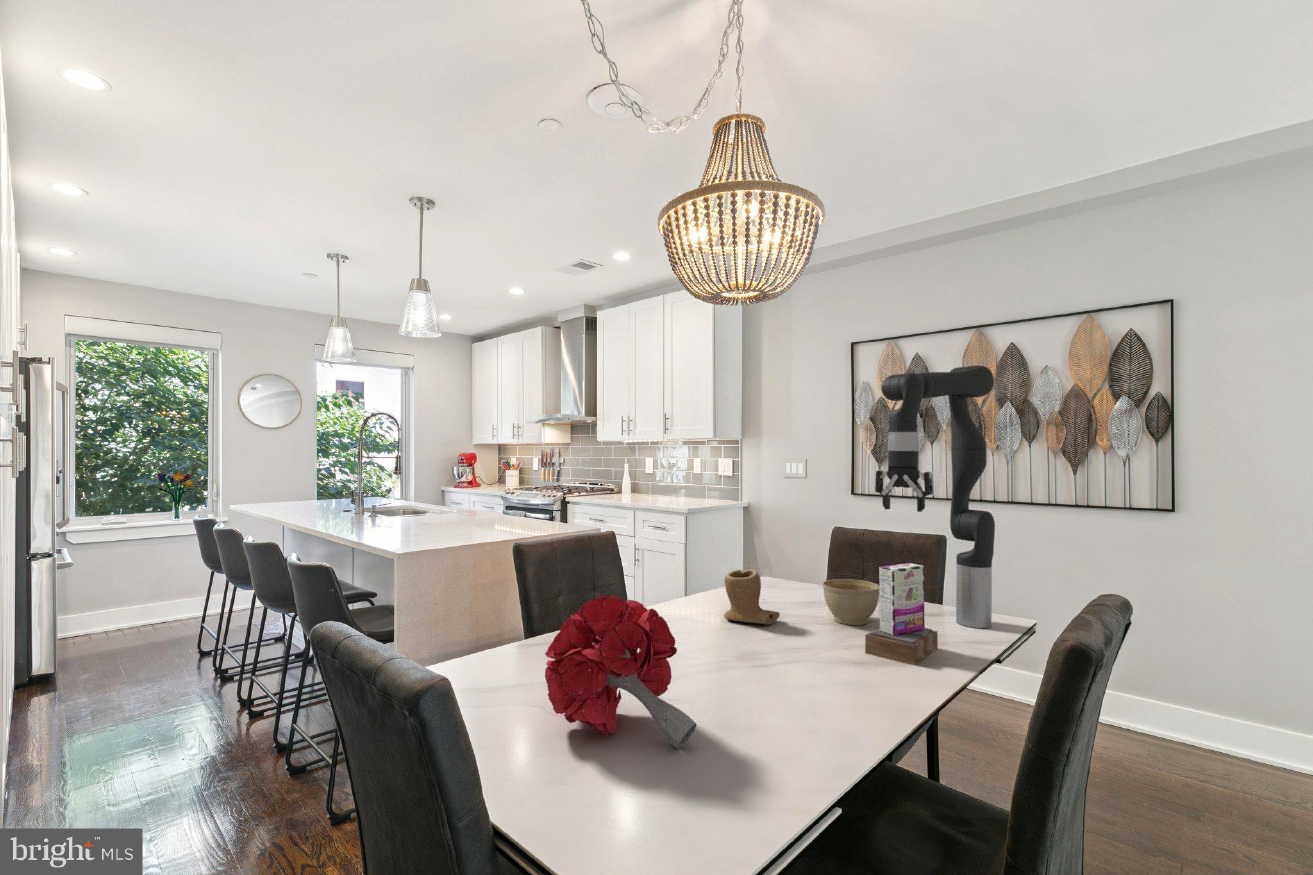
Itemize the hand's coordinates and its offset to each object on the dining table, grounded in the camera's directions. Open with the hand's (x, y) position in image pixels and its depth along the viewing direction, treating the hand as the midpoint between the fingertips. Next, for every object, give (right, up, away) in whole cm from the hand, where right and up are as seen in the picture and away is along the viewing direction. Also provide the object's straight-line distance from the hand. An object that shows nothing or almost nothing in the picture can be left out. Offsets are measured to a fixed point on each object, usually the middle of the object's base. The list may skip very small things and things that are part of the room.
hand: (903, 510), depth 162 cm
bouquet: (-72, -33, -52) cm, 95 cm away
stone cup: (-39, -35, +16) cm, 54 cm away
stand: (-4, -35, -8) cm, 36 cm away
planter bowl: (-8, -35, +18) cm, 40 cm away
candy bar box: (-4, -30, -8) cm, 31 cm away
